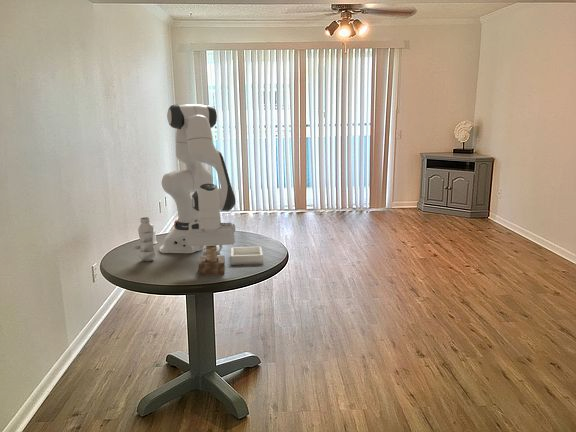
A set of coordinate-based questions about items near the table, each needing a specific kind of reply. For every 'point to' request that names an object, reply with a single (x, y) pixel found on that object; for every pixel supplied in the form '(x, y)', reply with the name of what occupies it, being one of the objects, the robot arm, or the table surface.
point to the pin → (211, 253)
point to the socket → (211, 266)
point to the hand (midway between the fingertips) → (211, 255)
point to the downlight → (154, 235)
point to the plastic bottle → (146, 240)
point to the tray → (246, 255)
